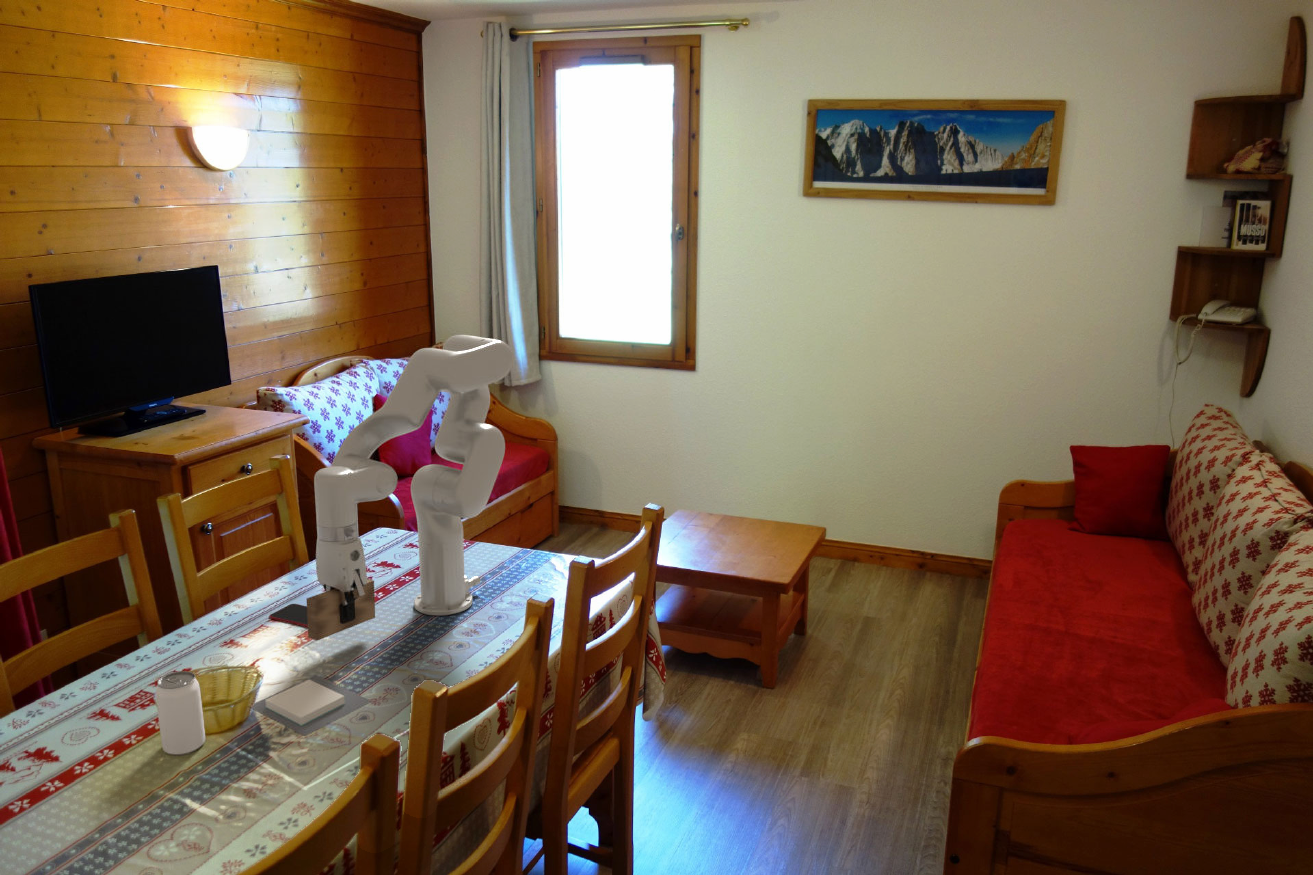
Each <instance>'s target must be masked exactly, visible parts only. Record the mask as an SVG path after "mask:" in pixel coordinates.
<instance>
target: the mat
mask: <svg viewBox="0 0 1313 875" xmlns="http://www.w3.org/2000/svg"><path fill="white" fill-rule="evenodd" d="M307 680H311V681H313V682H316V683H318V684H320V685H322V686H324V687H326V688H328V689H330V690H333V691H335V692H337V693H339V694H341V695H343V696H344V697H345V704H344V705H342V706H340V707H338V708H336V709H334V710H332V711H330V712H328V713H326V714H325V715H323V716H321V717H319V718H317V719H315V720H313V721H311V722H309V723H307V724H305V725H303V726H300V725H298V724H296V723H294V722H292V721H291V720H289V719H287V718H285V717H283V716H281V715H279V714H277V713H275V712H273V711H271V710H269V709H267V708H266V702H265V700H266V699H268V698H270V697H272V696H274V695H277V694H279V693H281V692H283V691H285V690H287V689H290V688H292V687H294V686H296V685H298V684H300V683H302V682H305V681H307ZM372 702H373V701H372V700H371V699H368V698H365V697H363V696H361V695H359V694H357V693H355V692H352V691H351V690H349V689H346V688H344V687H343V686H340V685H337V684H336V683H333V682H332V681H329V680H327V679H326V678H325V679H324V678H323V677H320V676H318V675H315V674H314V675H313V676H310V677H308V678H306V679H304V680H303V681H300V682H298V683H295V684H293V685H292V686H289V687H288V688H285V689H283V690H280V691H278V692H276V693H274V694H272V695H270V696H268V697H265V698H262V699H261V700H258V701H256V702H254V703H253V704H254V705H253V706H252V708H251V709H252V710H253V711H255V712H258V713H260V714H262V715H263V716H265V717H267V718H269V719H271V720H273V721H274V722H277V723H279V724H281V725H283V726H285V727H287V728H289V729H290V730H292V731H294V732H296V733H297V734H300V735H302V736H304V737H306V736H308V735H310V734H311V733H313V732H316V731H318V730H319V729H321V728H323V727H326V726H327V725H329V724H331V723H332V722H335V721H337V720H339V719H341V718H342V717H345V716H346V715H348V714H350V713H352V712H354V711H356V710H359V709H360V708H362V707H364V706H366V705H369V703H372Z"/></svg>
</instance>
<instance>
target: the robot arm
mask: <svg viewBox="0 0 1313 875" xmlns="http://www.w3.org/2000/svg"><path fill="white" fill-rule="evenodd" d="M513 365H514V354H513V350H512V349H511V347H510V346H509V345H508V343H506V342H505V341H503V340H500V339H495V338H488V337H482V336H476V335H469V334H455V335H452V336H450V337H448V338H447V339H446V340H445V341H444V344H443V347H442V349H441V348H433V347H431V348H430V347H424V348H420V349H418V350H417V351H415V352H414V353H413V354H412V356H410V359H409V360H408V362H407V364H406V365H405V367H404V368H403V370H402V373H401V374H400V376H399V378H398V380H397V381H396V384H394V387H393V388H392V390H391V392H390V393H389V395H388V397H387V398H386V401H385V402H384V404H383V405H382V407H380V408H379V409H377V410H376V411H375V412H373V413H372V414H370V415H369V416H368V417H366V419H365V418H364V420H363V421H361V422H360V423H359V424H358V425H356V426H355V427H354V428H353V429H352V430H351V431H350V432H349V433H348V434H347V436H346V437H345V439H344V440H343V441H342V443H341V444H340V447H339V448H338V451H337V453H336V454H335V456H334V458H333V461H332V463H331V466H328V467H324V468H323V467H322V468H321V469H319V470H318V471H316V472H315V474H314V476H313V477H314V479H313V482H314V483H313V484H314V486H313V488H314V498H315V499H314V500H315V501H314V502H315V514H316V518H315V519H316V532H317V534H316V536H317V537H316V538H317V539H316V548H315V549H316V550H315V566H316V567H315V568H316V570H315V571H316V577H317V581H318V583H319V584H320V585H321V586H322V587H323V589H324V592H326V591H329V590H332V589H335V588H336V589H339V590H340V593H341V603H342V604H340V605H339V606H340V623H342V624H345V623H347V622H350V621H352V620H354V619H355V601H356V600H357V598H358V597H360V596H363V595H364V594H365V593H364V590H363V587H362V586H365V585H366V584H367V577H368V576H367V573H368V572H367V566H366V565H367V564H366V557H365V553H364V546H363V544H362V540H361V538H359V523H358V522H359V521H358V520H359V519H358V504H359V503H364V502H373V501H374V502H375V501H379V500H384V499H386V498H387V497H389V496H390V495H392V494H393V492H394V491H395V490H396V488H397V486H398V475H397V473H396V471H395V469H394V468H393V467H392V466H390V465H389V464H387V463H384V462H383V461H382V462H381V461H377V460H374V459H370V458H371V456H372V455H373V453H375V451H376V450H377V449H378V448H379V447H380V446H382V444H384V443H386V442H387V441H390V440H391V439H394V438H396V437H400V436H403V435H406V434H409V433H412V432H414V431H417V430H418V429H420V428H421V427H422V425H423V424H424V422H425V420H426V419H427V416H428V415H429V413H430V411H431V409H432V408H433V405H434V404H435V402H436V400H437V398H438V397H439V395H440V393H441V392H442V393H448V394H451V395H450V398H449V400H448V405H447V407H446V410H445V413H444V415H443V417H442V420H441V423H440V426H439V429H438V431H437V434H436V437H435V440H434V449H435V452H436V454H437V455H438V456H439V457H440V458H442V459H444V460H446V461H449V462H452V463H456V464H461V465H463V466H462V469H459V468H455V467H450V466H447V465H446V466H445V465H443V464H436V463H435V464H428V465H424V466H422V467H420V468H419V469H418V470H417V471H416V472H415V473H414V475H413V477H412V480H411V484H410V494H411V499H412V504H413V506H414V511H415V516H416V521H417V522H416V524H417V543H418V562H419V583H420V584H419V585H420V593H419V594H418V595H417V596H416V597H415V598H414V600H413V606H414V609H415V610H416V611H418V613H421V614H424V615H428V616H437V617H438V616H449V615H450V616H451V615H454V614H458V613H461V612H463V611H465V610H467V609H469V608H470V607H471V606H472V604H473V601H474V600H473V595H472V594H471V592H469V591H470V590H471V589H472V587H475V586H477V585H479V584H481V579H480V577H479V576H478V575H475V576H473V577H470V578H468V577H467V576H466V575H465V554H464V553H465V552H464V550H465V549H464V526H463V522H462V518H463V519H472V518H475V517H477V516H478V515H479V514H481V512H483V511H484V509H485V507H486V505H487V504H488V502H489V500H490V496H491V494H492V491H493V488H494V486H495V483H496V480H497V478H498V475H499V472H500V469H501V467H502V464H503V460H504V457H505V451H506V442H505V437H504V435H503V433H502V431H501V430H500V429H499V428H497V427H496V426H494V425H491V424H489V423H486V419H487V414H488V412H489V410H490V405H491V393H490V388H489V385H491V384H493V383H496V382H498V381H501V380H503V379H504V378H505V377H506V376H507V375H508V374H509V373H510V371H511V370H512V367H513ZM347 592H350V594H348V595H347Z"/></svg>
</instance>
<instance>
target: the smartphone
mask: <svg viewBox="0 0 1313 875" xmlns="http://www.w3.org/2000/svg"><path fill="white" fill-rule="evenodd" d="M268 618H269V619H271V620H275V621H279V622H283V623H288V624H292V625H296V626H300V627H304V628H307V629H308V619H307V605H303V604H298V603H290V604H288V605H286V606H284V607H282V608H280V609H278V610H277V611H274V612H272V613H270V614H269V615H268Z"/></svg>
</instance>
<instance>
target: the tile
mask: <svg viewBox="0 0 1313 875" xmlns="http://www.w3.org/2000/svg"><path fill="white" fill-rule="evenodd" d="M301 682H302V681H301ZM299 683H300V682H299ZM286 689H287V688H286ZM273 695H274V694H273ZM265 702H266V708H267V709H269V710H271V711H273V712H275V713H277V714H279V715H281V716H283V717H285V718H287V719H289V720H291V721H292V722H294V723H296V724H298V725H300V726H303V725H305V724H307V723H309V722H311V721H313V720H315V719H317V718H319V717H321V716H323V715H325V714H326V713H328V712H330V711H332V710H334V709H336V708H338V707H340V706H342V705H344V704H345V697H344V696H343V695H341V694H339V693H337V692H335V691H333V690H330V689H328V688H326V687H324V686H322V685H320V684H318V683H316V682H313V681H311V680H307V681H305V682H302V683H300V684H298V685H296V686H294V687H292V688H290V689H287V690H285V691H283V692H281V693H279V694H277V695H274V696H272V697H270V698H268V699H266V700H265Z"/></svg>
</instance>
